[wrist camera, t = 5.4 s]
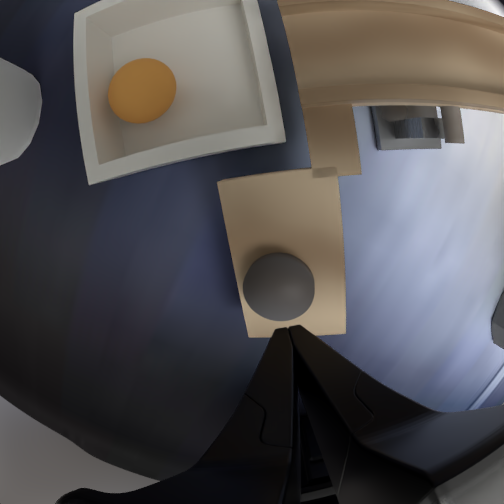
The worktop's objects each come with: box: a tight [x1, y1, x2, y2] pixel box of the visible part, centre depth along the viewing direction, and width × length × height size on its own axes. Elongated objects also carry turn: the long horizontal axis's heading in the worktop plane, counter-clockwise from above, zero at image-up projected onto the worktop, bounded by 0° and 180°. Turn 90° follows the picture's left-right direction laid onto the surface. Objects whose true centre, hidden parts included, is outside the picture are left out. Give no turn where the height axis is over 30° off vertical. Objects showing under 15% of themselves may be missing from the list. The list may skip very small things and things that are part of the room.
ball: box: [108, 58, 176, 124], centre depth 11 cm, size 3×3×3 cm
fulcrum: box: [371, 105, 445, 150], centre depth 11 cm, size 9×4×3 cm, turn 10°
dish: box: [73, 0, 286, 185], centre depth 10 cm, size 9×9×4 cm
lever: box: [217, 0, 504, 337], centre depth 9 cm, size 17×24×4 cm
